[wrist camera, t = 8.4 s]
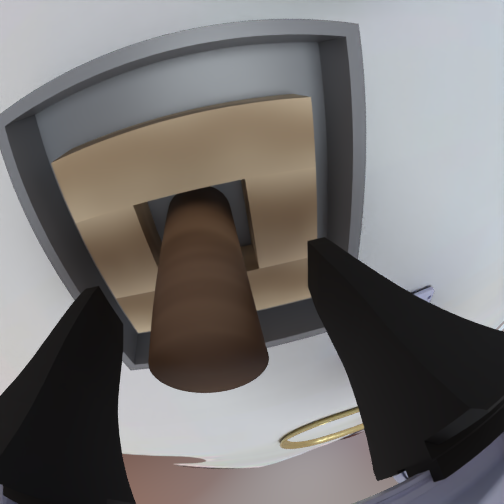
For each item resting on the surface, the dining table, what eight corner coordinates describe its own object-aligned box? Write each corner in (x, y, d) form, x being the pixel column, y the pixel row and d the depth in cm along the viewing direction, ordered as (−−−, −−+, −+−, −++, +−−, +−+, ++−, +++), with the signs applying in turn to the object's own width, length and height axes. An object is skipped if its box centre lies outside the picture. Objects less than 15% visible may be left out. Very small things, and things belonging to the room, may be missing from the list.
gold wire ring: (411, 401, 51) (413, 406, 50) (276, 447, 47) (278, 453, 46) (447, 363, 40) (450, 369, 39) (281, 424, 36) (283, 433, 35)
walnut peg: (235, 234, 14) (272, 381, 7) (177, 246, 13) (173, 397, 7) (225, 178, 12) (263, 319, 5) (160, 192, 12) (127, 342, 5)
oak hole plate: (304, 272, 16) (315, 296, 14) (141, 307, 15) (138, 333, 14) (293, 93, 10) (311, 97, 8) (70, 149, 9) (51, 162, 8)
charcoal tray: (329, 293, 18) (346, 325, 16) (134, 334, 17) (130, 370, 15) (324, 32, 9) (358, 23, 6) (28, 107, 8) (-8, 119, 6)
